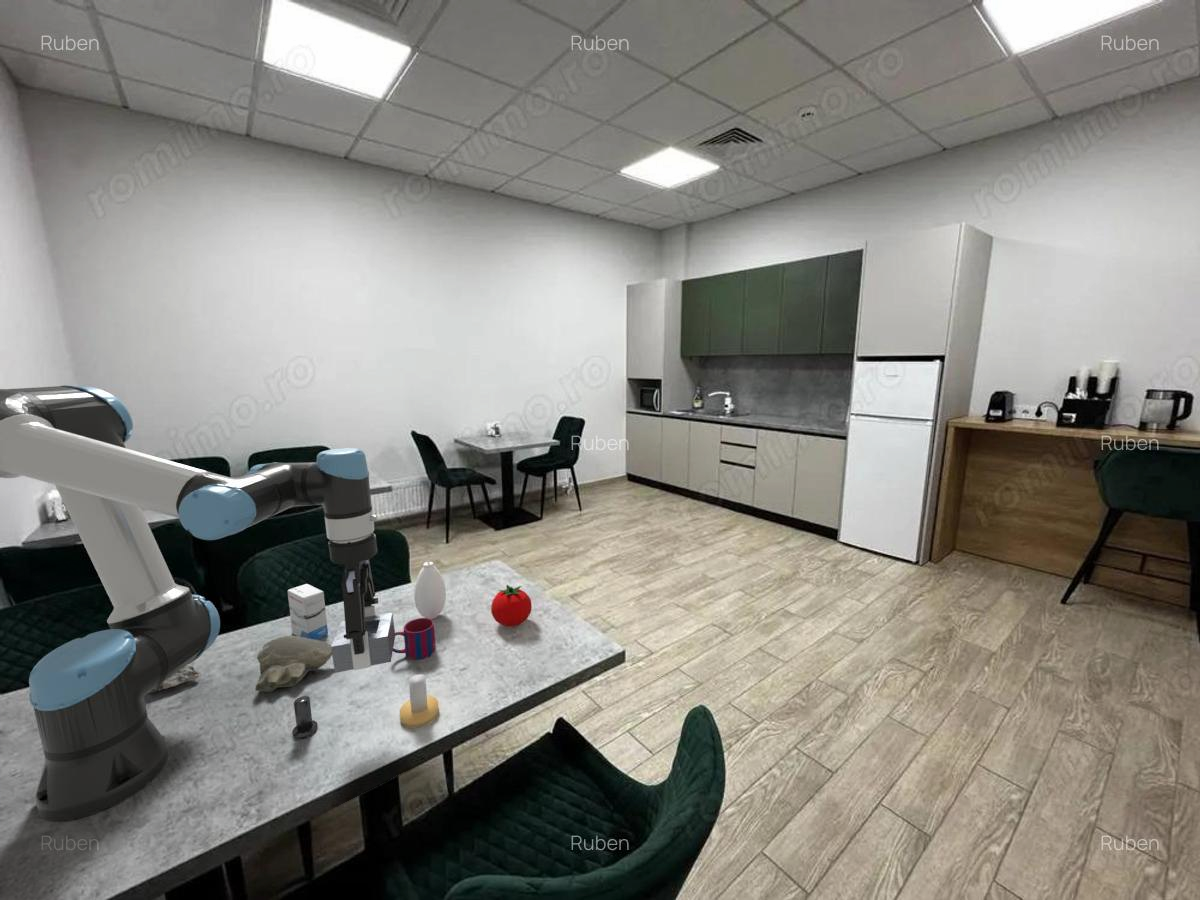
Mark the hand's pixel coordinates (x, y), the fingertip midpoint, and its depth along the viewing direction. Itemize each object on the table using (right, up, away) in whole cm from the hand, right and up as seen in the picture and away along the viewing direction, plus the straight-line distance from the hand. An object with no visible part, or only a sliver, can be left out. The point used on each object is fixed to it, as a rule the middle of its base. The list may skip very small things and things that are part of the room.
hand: (366, 652), depth 90 cm
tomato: (+20, -8, +38) cm, 44 cm away
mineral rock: (-50, -13, +14) cm, 54 cm away
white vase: (-2, -8, +41) cm, 42 cm away
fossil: (-23, -12, +16) cm, 30 cm away
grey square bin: (0, 0, 0) cm, 0 cm away
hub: (+8, -14, +5) cm, 17 cm away
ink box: (-30, -9, +33) cm, 45 cm away
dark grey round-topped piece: (-12, -15, 0) cm, 19 cm away
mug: (-1, -11, +25) cm, 27 cm away
